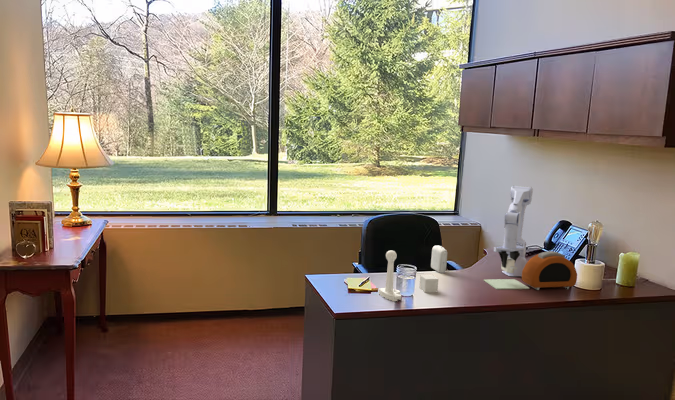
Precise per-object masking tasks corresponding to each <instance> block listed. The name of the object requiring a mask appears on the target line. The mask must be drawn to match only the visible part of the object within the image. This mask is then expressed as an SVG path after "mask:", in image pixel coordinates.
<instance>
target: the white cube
mask: <svg viewBox="0 0 675 400" xmlns="http://www.w3.org/2000/svg"><path fill="white" fill-rule="evenodd" d="M419 289H420V290H421V291H422V290H423V291H422V292H424V293H437V292H436V291H438V289H439V278H438V277H436V276H435V275H434V274H420V276H419ZM438 292H439V291H438Z"/></svg>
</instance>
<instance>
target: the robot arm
mask: <svg viewBox="0 0 675 400" xmlns="http://www.w3.org/2000/svg"><path fill="white" fill-rule="evenodd" d="M533 191H534V189H533V187H532V186H520V185H512V186H511V187H510V193H509V195H510V200H511V203H510V204H509V206H508V209H507V212H506V213H505V214H504V217H503V223H504V232H503V233H504V234H503V244H502V246H494V247H493V252H494V253H498V255H499V257H500V261H501V264H502V267H504V268H506V261H507V257H509V258H511V259H513V260H515V264H514V266H515V267H517V270H514V273H508V272H506V271H504V270H501V272H502V273H503V274H505V275H506V276H508V277H522V271H523V269H524V267H525V265H526V263H527V262H528V260H527V258H526V254H527V253H526V251H527V242H526V241H525V239H523V238H522V235H523V227H524V219H525V213H526V208H527V206H529V205H531V202H532V199H533Z"/></svg>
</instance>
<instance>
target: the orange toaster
mask: <svg viewBox="0 0 675 400" xmlns="http://www.w3.org/2000/svg"><path fill="white" fill-rule="evenodd" d="M521 280H522V281H523V282H524V283H525V285H527V286H528V287H531V288H533V289H535V290H536V291H539V290H540V288H541V289H542V288H564V287H565V288H564V289H566V288H567V289H566V290H569V289H570V287H574V286H575V285H577V281H578V273H577V269H576V267H575V264H574V263H573V262H572V261H571V260H570V259H568V258H566V255H565V254H562V253H561V252H557V251H554V250H552V251H551V250H549V251H548V250H547V251H544V252H543V251H542V252H540V253H538V254H535V255H534V256H532V257H531V258H529V260H527V263H526V265H525V267H524V269H523V271H522V276H521Z"/></svg>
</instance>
